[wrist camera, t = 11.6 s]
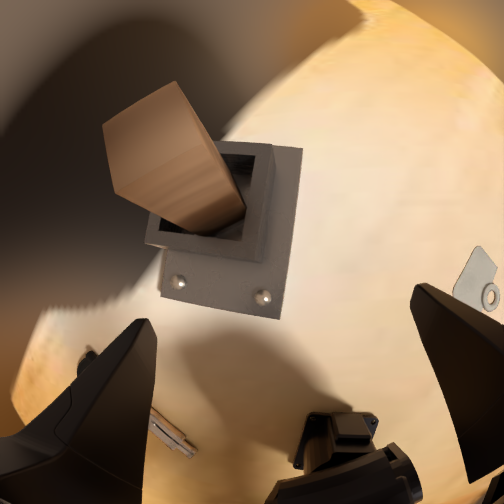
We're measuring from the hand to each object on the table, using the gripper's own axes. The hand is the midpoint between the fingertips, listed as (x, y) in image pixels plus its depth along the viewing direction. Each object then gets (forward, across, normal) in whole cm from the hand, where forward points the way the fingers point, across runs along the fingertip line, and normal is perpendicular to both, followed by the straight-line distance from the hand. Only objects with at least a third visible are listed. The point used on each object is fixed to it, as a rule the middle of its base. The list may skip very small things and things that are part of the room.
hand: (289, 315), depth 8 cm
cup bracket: (+15, +2, +3) cm, 16 cm away
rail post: (+15, +3, +2) cm, 15 cm away
